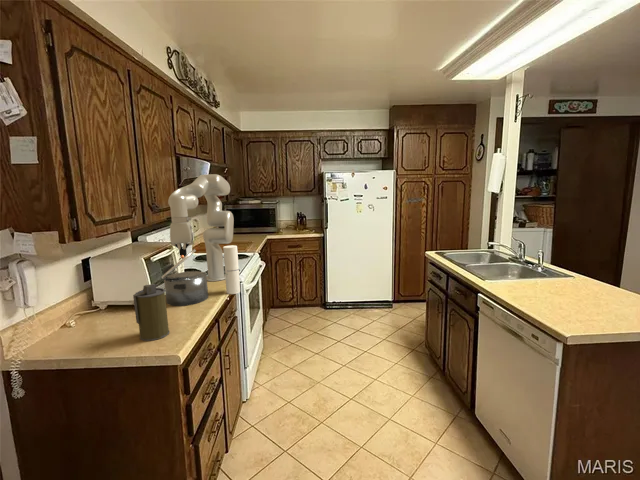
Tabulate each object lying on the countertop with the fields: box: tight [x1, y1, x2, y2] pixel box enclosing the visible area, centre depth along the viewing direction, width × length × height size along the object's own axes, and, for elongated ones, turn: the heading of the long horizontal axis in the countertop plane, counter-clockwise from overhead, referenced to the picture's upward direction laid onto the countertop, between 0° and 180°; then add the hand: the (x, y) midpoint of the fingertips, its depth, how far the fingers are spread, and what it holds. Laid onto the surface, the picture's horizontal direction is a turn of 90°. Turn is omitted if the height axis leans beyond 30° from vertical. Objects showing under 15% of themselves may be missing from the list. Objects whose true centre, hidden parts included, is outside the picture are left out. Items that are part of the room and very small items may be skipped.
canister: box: [133, 283, 170, 342], centre depth 127 cm, size 11×10×20 cm
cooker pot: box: [163, 270, 209, 307], centre depth 169 cm, size 24×20×12 cm
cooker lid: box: [161, 248, 197, 280], centre depth 167 cm, size 21×21×3 cm
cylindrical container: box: [222, 245, 241, 295], centre depth 178 cm, size 7×7×25 cm
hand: (183, 256), depth 167 cm, fingers closed
